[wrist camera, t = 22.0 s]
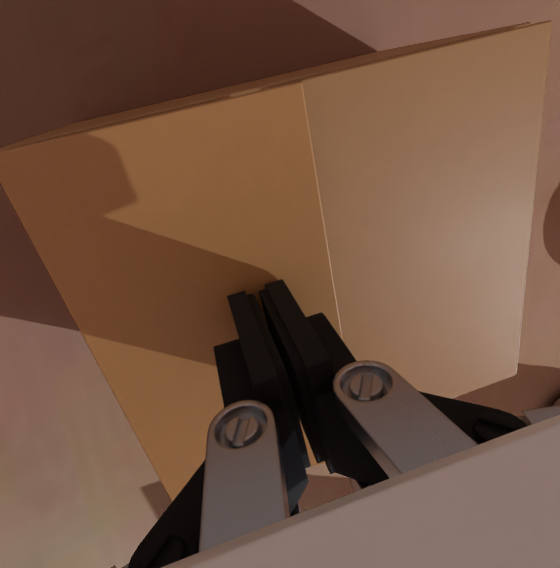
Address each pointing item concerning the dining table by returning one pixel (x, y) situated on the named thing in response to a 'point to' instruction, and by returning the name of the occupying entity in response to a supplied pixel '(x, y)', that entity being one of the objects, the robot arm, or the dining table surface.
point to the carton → (421, 195)
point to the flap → (176, 248)
